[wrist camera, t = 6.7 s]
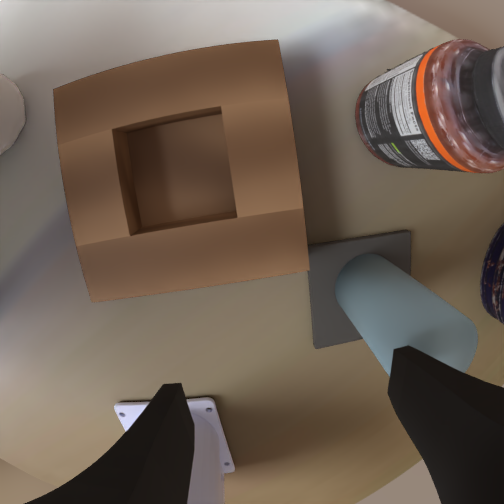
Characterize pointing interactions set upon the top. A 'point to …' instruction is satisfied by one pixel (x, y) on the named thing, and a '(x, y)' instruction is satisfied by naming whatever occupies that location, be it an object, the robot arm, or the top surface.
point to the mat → (327, 270)
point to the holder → (182, 172)
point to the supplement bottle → (438, 110)
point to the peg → (402, 314)
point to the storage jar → (494, 277)
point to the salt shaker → (10, 113)
